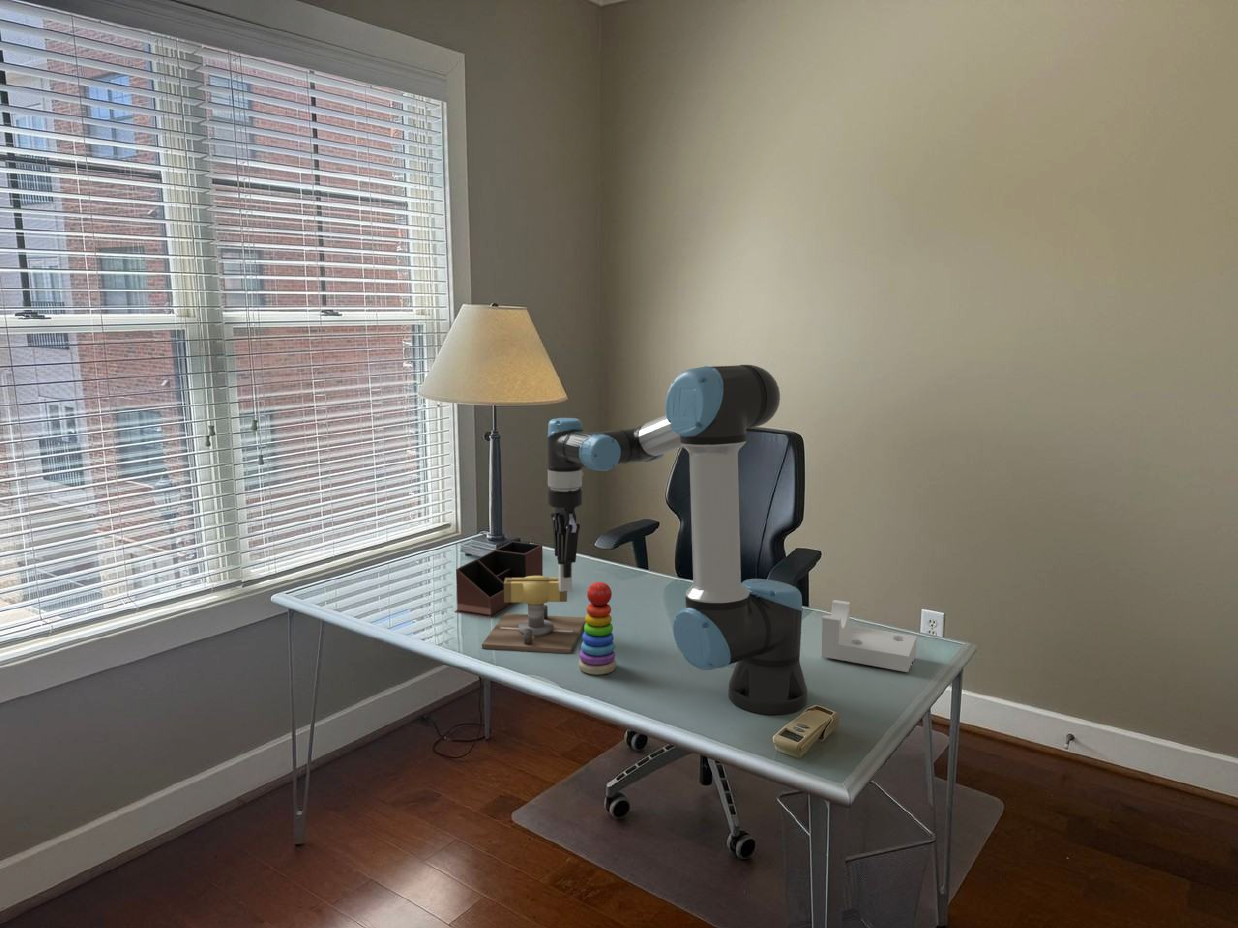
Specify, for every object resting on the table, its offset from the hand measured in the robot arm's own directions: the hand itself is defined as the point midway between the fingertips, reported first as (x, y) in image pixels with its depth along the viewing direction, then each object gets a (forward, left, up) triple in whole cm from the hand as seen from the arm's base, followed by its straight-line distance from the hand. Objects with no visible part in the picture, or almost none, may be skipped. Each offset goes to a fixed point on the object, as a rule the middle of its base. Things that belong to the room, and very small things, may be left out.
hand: (565, 589), depth 202 cm
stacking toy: (-16, -10, -12) cm, 22 cm away
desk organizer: (+26, +22, -12) cm, 36 cm away
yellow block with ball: (+1, +7, -3) cm, 8 cm away
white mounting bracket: (-2, -67, -12) cm, 68 cm away
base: (+1, +7, -11) cm, 13 cm away
